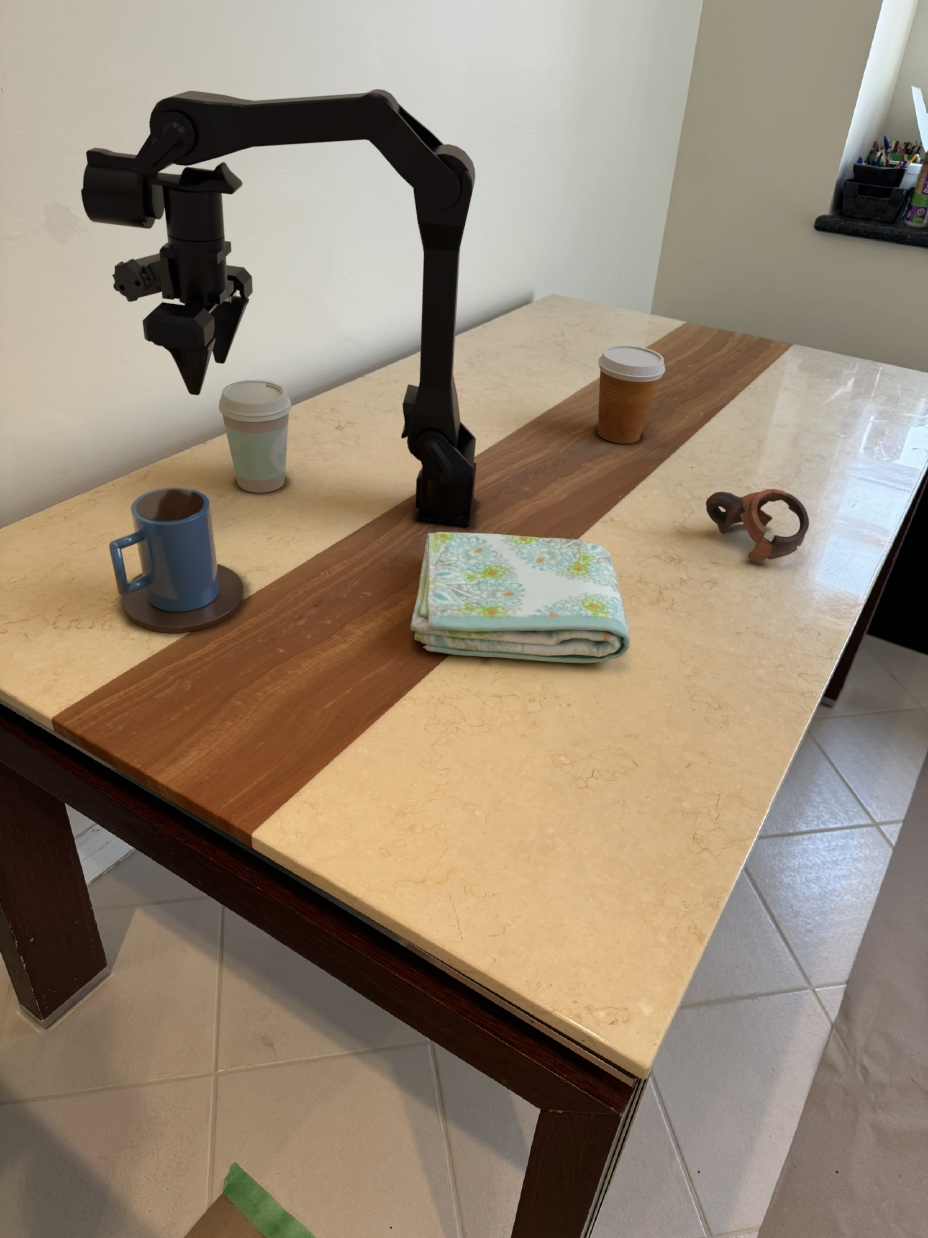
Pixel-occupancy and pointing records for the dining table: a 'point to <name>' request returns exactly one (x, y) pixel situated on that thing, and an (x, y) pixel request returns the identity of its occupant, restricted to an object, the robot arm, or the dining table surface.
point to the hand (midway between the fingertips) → (207, 377)
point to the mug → (171, 550)
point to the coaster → (186, 621)
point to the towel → (519, 599)
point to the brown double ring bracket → (758, 520)
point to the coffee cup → (257, 432)
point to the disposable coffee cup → (626, 390)
